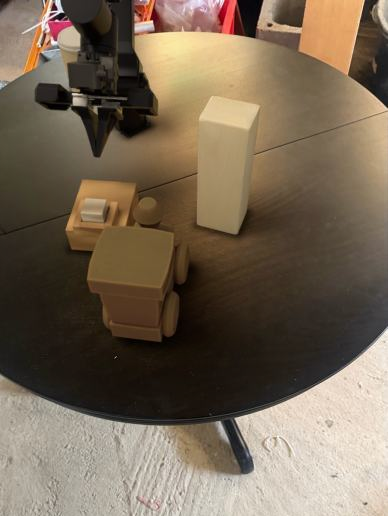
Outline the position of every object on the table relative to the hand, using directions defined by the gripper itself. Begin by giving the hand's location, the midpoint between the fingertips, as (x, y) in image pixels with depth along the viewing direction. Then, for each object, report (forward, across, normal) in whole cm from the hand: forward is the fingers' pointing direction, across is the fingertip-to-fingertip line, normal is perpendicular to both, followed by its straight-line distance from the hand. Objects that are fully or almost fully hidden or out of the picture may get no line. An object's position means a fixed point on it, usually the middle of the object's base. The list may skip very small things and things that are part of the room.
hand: (96, 157), depth 78 cm
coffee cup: (-19, -13, +38) cm, 44 cm away
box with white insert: (+11, 0, +7) cm, 13 cm away
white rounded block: (+9, 0, 0) cm, 9 cm away
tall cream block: (+8, +21, +10) cm, 25 cm away
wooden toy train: (+22, +11, -4) cm, 25 cm away
